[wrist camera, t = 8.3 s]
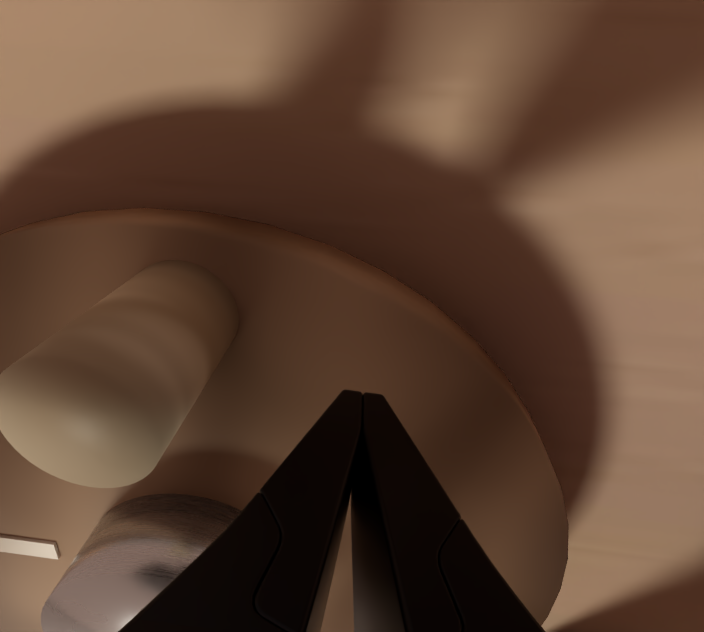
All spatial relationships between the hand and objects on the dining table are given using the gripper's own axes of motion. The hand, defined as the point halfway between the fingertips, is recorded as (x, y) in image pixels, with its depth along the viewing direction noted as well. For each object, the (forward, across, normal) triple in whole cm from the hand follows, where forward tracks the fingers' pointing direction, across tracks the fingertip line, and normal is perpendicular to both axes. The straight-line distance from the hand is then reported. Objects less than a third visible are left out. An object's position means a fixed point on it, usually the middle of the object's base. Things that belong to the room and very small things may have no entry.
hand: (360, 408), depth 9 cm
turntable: (+3, +4, +9) cm, 11 cm away
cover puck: (+2, +5, +9) cm, 10 cm away
